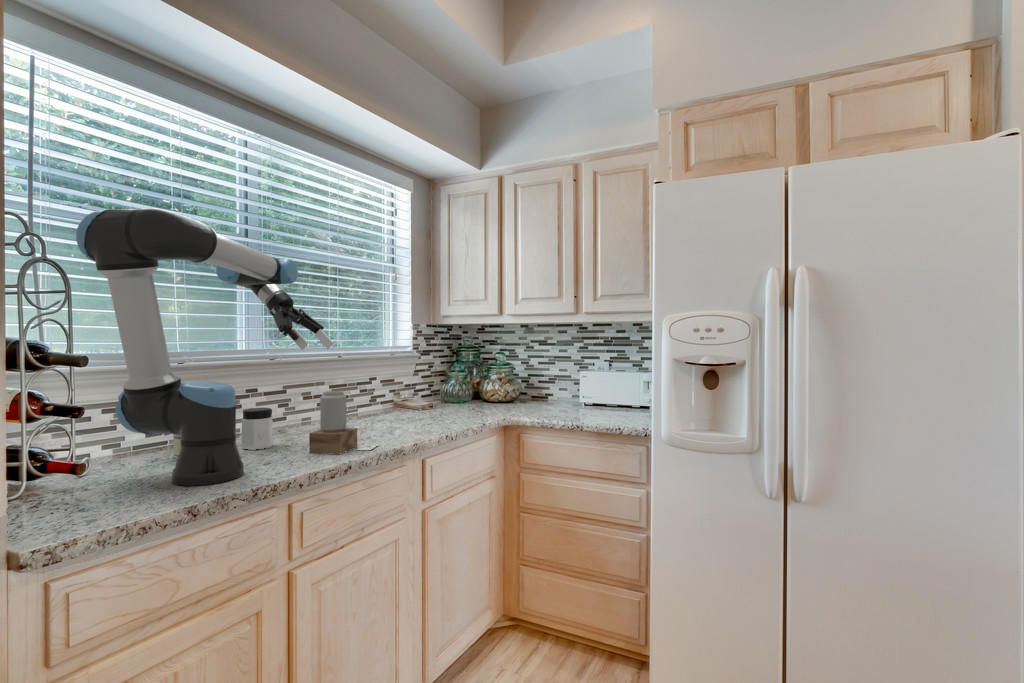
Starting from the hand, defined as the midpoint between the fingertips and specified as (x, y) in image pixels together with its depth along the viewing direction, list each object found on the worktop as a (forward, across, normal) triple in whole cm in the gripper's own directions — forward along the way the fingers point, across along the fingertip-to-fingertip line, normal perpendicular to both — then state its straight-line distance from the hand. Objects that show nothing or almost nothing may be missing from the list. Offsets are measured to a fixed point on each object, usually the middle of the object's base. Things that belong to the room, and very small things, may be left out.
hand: (318, 346), depth 160 cm
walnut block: (+28, +4, -17) cm, 33 cm away
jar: (+10, +5, -36) cm, 37 cm away
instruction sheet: (+34, -1, -11) cm, 36 cm away
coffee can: (+2, +18, -43) cm, 47 cm away
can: (+24, +4, -13) cm, 27 cm away
